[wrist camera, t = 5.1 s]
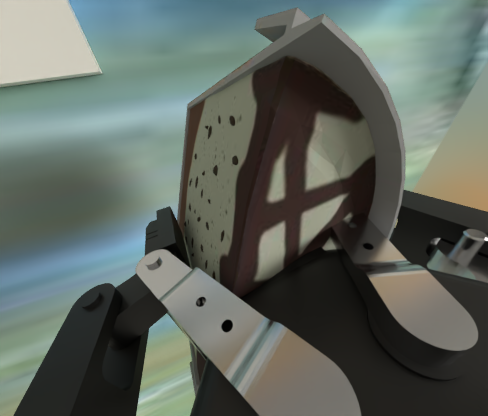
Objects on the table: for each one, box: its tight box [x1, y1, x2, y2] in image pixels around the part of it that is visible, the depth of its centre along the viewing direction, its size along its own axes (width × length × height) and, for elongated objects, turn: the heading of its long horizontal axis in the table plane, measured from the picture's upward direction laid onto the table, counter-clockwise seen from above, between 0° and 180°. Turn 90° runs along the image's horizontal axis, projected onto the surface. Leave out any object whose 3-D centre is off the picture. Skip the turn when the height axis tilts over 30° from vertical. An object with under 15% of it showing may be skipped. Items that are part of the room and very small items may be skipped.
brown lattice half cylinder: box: [177, 7, 405, 396], centre depth 10 cm, size 12×6×10 cm, turn 166°
